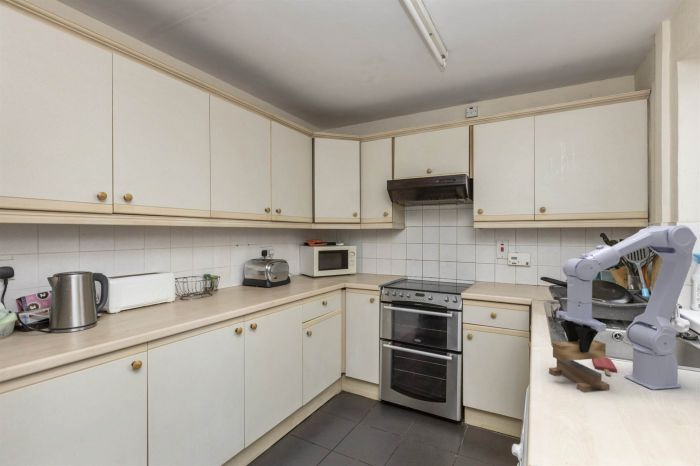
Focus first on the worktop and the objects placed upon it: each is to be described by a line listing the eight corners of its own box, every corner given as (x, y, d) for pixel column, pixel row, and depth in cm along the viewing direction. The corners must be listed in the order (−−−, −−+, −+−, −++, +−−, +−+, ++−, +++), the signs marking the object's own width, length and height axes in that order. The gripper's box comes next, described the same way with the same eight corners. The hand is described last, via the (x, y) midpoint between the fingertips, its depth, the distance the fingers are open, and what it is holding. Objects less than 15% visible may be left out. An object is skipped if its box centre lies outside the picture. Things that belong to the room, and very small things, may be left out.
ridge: (572, 371, 101) (572, 356, 101) (609, 389, 89) (609, 373, 89) (549, 372, 100) (549, 357, 100) (583, 392, 88) (583, 375, 88)
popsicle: (597, 370, 99) (590, 354, 112) (597, 375, 99) (590, 358, 112) (620, 374, 96) (610, 357, 109) (620, 379, 96) (610, 361, 109)
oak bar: (595, 354, 97) (596, 340, 97) (605, 358, 94) (605, 343, 94) (552, 356, 94) (552, 342, 94) (561, 361, 91) (561, 346, 91)
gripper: (547, 296, 100) (547, 341, 101) (589, 307, 86) (588, 360, 86) (568, 296, 102) (567, 340, 102) (613, 306, 87) (612, 358, 87)
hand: (579, 349), depth 94 cm, fingers closed on oak bar, 3 cm apart
